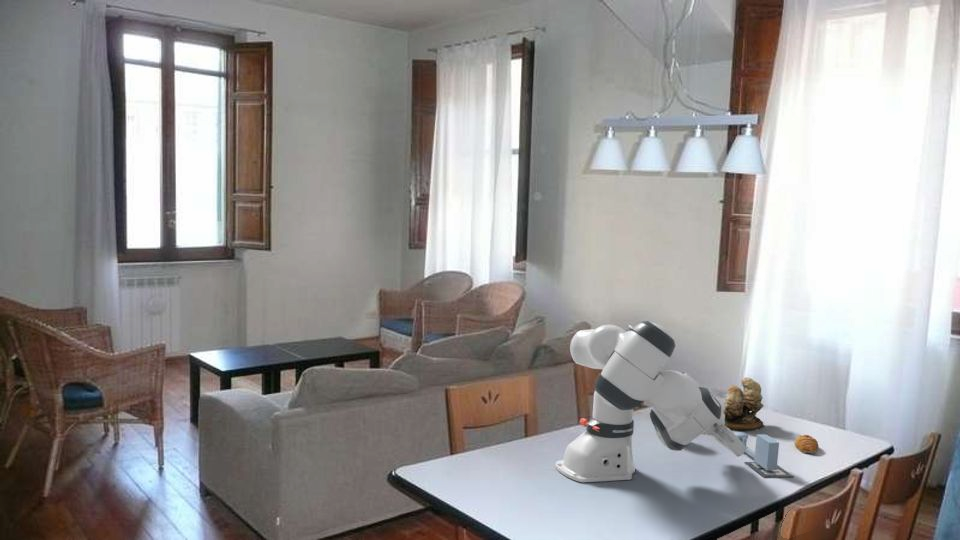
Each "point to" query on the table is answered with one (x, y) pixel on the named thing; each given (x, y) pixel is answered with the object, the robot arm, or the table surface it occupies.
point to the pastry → (806, 444)
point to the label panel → (768, 471)
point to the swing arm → (762, 450)
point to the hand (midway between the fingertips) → (737, 453)
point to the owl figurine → (743, 406)
